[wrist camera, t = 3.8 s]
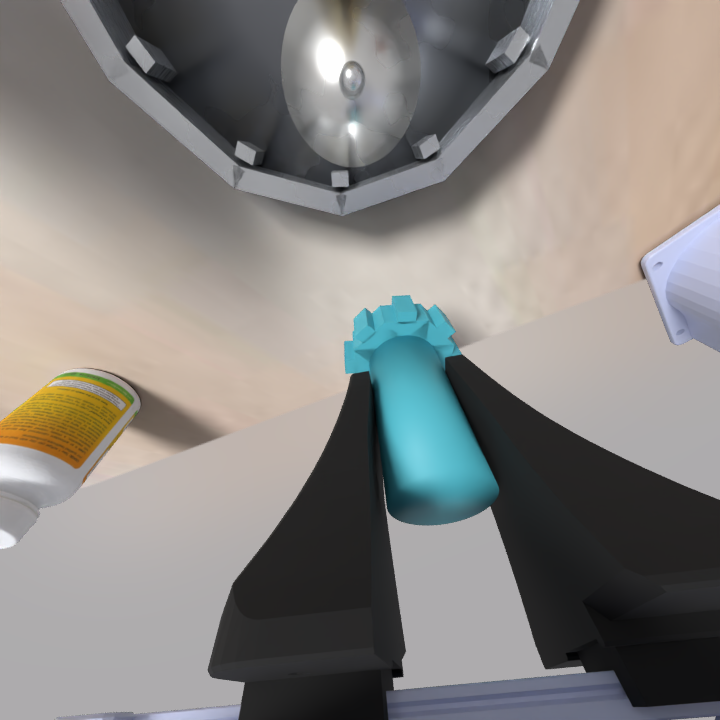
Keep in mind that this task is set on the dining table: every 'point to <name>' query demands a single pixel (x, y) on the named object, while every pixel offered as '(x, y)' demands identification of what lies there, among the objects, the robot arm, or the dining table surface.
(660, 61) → the dining table surface
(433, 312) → the gear
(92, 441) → the supplement bottle
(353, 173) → the bowl
